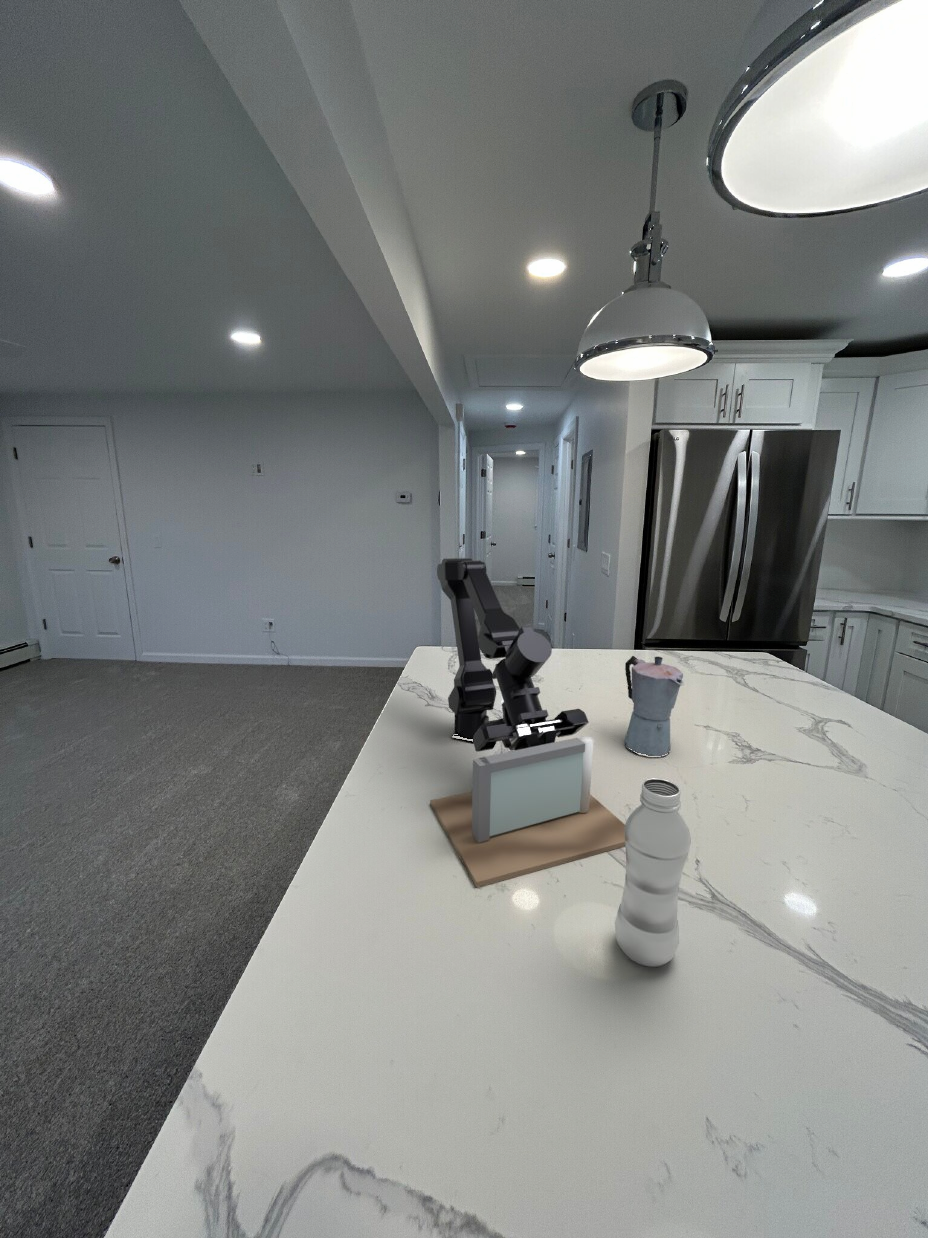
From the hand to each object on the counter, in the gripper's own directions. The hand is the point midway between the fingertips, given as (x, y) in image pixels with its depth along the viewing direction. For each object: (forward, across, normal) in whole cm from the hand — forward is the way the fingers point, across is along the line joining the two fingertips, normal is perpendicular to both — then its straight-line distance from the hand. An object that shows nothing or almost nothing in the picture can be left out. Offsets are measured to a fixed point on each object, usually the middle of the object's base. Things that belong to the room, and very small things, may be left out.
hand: (548, 781), depth 78 cm
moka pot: (-5, -32, -15) cm, 36 cm away
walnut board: (+4, +3, -5) cm, 7 cm away
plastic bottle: (+22, +2, +13) cm, 26 cm away
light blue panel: (+5, +3, -3) cm, 6 cm away
